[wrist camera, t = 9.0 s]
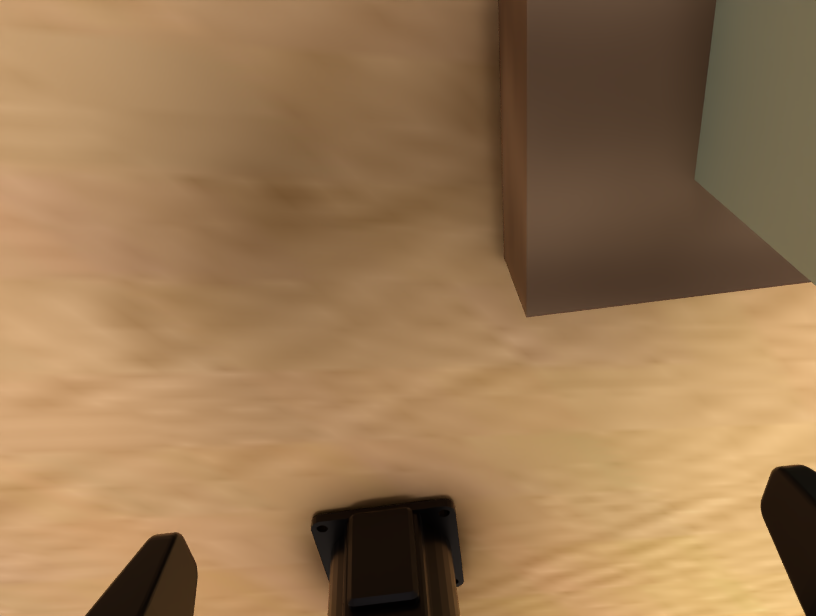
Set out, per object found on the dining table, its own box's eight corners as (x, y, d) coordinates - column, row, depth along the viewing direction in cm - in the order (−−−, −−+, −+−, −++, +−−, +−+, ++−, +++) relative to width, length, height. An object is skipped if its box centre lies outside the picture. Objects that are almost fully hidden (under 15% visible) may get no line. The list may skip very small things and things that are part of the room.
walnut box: (909, 198, 21) (1012, 256, 17) (501, 250, 21) (526, 317, 18) (1152, -417, 13) (1430, -525, 9) (486, -323, 13) (527, -396, 10)
